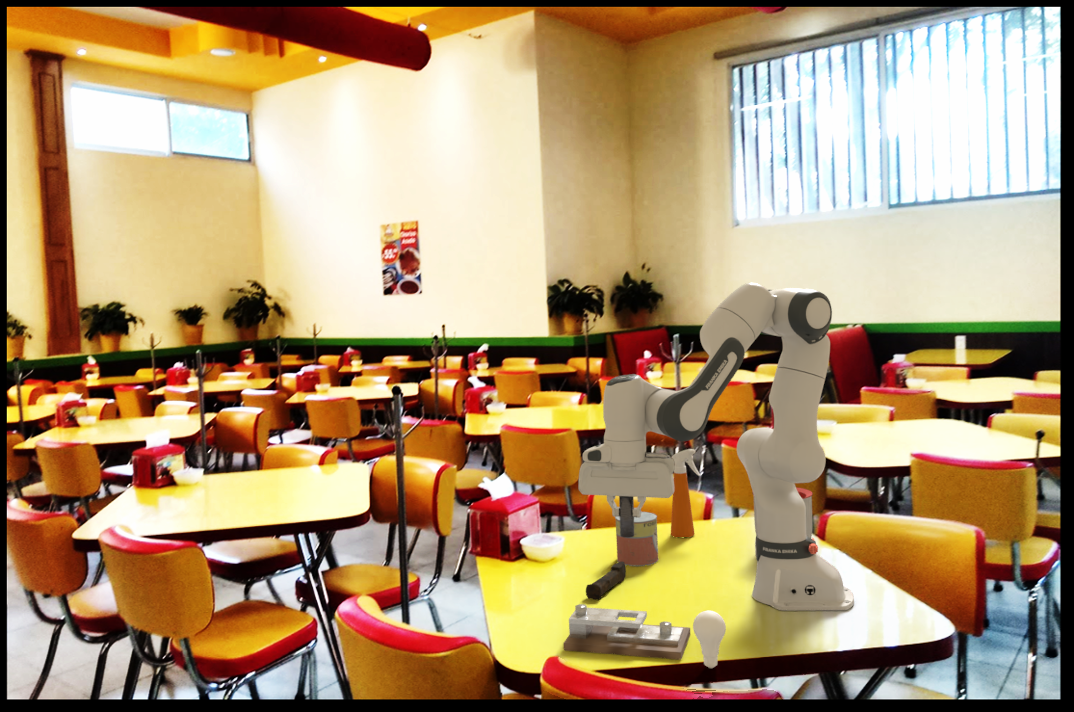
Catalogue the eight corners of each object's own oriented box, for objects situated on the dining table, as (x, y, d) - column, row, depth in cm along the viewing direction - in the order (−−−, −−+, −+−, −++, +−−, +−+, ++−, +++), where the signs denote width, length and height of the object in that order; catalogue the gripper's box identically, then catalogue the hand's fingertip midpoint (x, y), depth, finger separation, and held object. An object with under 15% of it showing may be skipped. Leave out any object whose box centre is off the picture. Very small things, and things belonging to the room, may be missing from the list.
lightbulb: (722, 660, 168) (720, 604, 167) (730, 673, 162) (728, 616, 161) (691, 662, 168) (689, 606, 167) (698, 675, 161) (696, 618, 161)
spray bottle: (694, 541, 249) (691, 451, 247) (665, 535, 257) (662, 448, 255) (709, 536, 254) (706, 448, 252) (680, 530, 262) (677, 444, 260)
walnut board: (690, 634, 181) (690, 627, 181) (681, 659, 169) (680, 652, 169) (580, 626, 189) (579, 619, 188) (563, 650, 176) (563, 643, 176)
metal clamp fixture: (683, 632, 178) (682, 606, 178) (678, 645, 172) (677, 618, 172) (578, 625, 185) (577, 600, 185) (569, 637, 179) (568, 611, 178)
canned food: (658, 566, 228) (656, 521, 227) (615, 566, 230) (613, 522, 229) (659, 553, 239) (657, 511, 238) (618, 553, 241) (616, 511, 240)
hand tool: (600, 602, 204) (599, 582, 204) (585, 599, 206) (584, 580, 206) (635, 578, 220) (634, 560, 220) (621, 576, 222) (620, 558, 222)
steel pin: (635, 534, 184) (634, 494, 184) (632, 537, 181) (631, 497, 181) (622, 533, 185) (621, 494, 185) (618, 537, 182) (617, 497, 182)
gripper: (676, 450, 182) (678, 515, 183) (583, 448, 188) (585, 510, 189) (671, 455, 176) (673, 522, 177) (575, 453, 182) (577, 517, 183)
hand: (626, 516), depth 183 cm, fingers closed on steel pin, 3 cm apart
